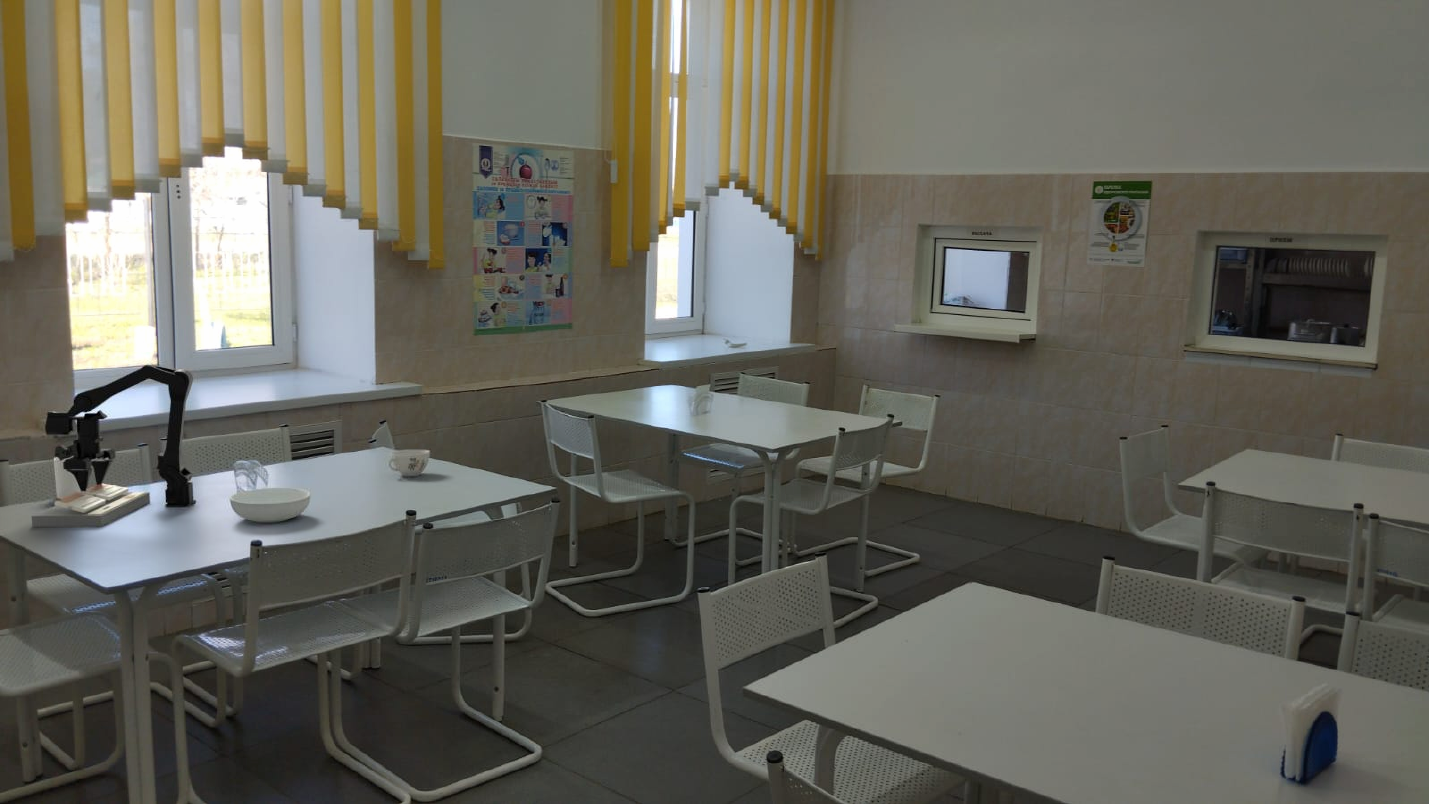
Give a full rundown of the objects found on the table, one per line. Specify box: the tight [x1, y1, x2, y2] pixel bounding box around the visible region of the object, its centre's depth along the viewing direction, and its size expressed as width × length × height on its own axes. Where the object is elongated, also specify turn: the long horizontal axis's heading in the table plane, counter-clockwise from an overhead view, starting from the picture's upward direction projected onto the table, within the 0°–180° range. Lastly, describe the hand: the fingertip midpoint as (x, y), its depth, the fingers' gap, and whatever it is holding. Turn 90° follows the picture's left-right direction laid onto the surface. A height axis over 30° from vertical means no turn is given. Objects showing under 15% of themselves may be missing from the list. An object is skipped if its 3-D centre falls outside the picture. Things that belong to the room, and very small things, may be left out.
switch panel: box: [31, 491, 151, 528], centre depth 316 cm, size 18×30×4 cm, turn 4°
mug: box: [53, 456, 81, 500], centre depth 338 cm, size 10×7×12 cm, turn 156°
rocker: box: [54, 492, 106, 513], centre depth 308 cm, size 8×12×1 cm, turn 4°
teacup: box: [388, 449, 431, 478], centre depth 375 cm, size 15×12×8 cm
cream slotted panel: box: [80, 483, 129, 500], centre depth 322 cm, size 8×12×1 cm, turn 4°
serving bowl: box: [229, 487, 311, 524], centre depth 312 cm, size 21×21×7 cm
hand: (91, 488), depth 322 cm, fingers open, 9 cm apart
